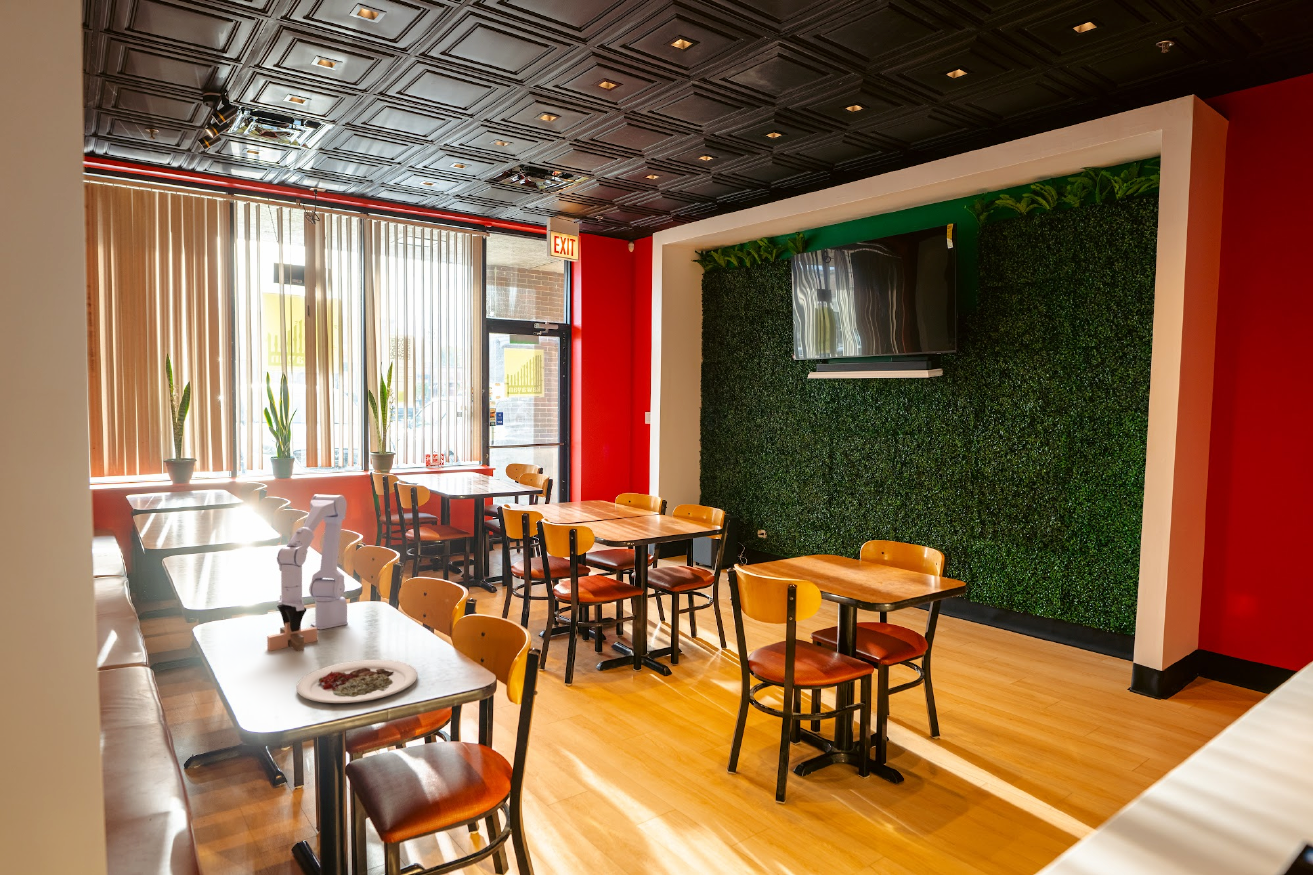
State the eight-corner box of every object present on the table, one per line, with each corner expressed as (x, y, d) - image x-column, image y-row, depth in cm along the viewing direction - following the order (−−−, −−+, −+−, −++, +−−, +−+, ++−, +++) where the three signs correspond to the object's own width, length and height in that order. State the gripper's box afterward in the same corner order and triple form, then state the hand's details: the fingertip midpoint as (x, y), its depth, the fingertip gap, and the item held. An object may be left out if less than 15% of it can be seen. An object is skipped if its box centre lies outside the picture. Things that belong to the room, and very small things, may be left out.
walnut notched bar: (286, 638, 234) (286, 626, 234) (303, 649, 225) (303, 636, 225) (280, 640, 233) (280, 627, 233) (297, 651, 223) (297, 638, 223)
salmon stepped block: (314, 639, 235) (314, 617, 234) (317, 640, 233) (317, 618, 233) (267, 649, 225) (267, 626, 224) (269, 650, 223) (269, 627, 223)
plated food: (421, 699, 190) (421, 687, 190) (291, 715, 179) (291, 702, 179) (413, 661, 218) (413, 649, 218) (301, 672, 207) (301, 661, 207)
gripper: (269, 583, 230) (269, 626, 231) (286, 592, 220) (286, 637, 221) (293, 579, 235) (293, 621, 236) (311, 588, 225) (311, 632, 226)
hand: (291, 628), depth 229 cm, fingers open, 5 cm apart
